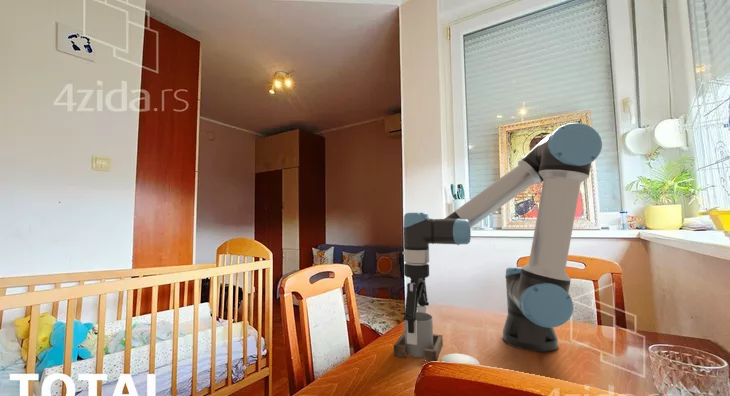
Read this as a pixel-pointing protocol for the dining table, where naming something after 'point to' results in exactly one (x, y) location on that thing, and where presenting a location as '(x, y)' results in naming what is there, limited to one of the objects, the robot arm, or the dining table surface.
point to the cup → (421, 335)
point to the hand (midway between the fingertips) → (417, 334)
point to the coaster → (459, 359)
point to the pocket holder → (428, 353)
